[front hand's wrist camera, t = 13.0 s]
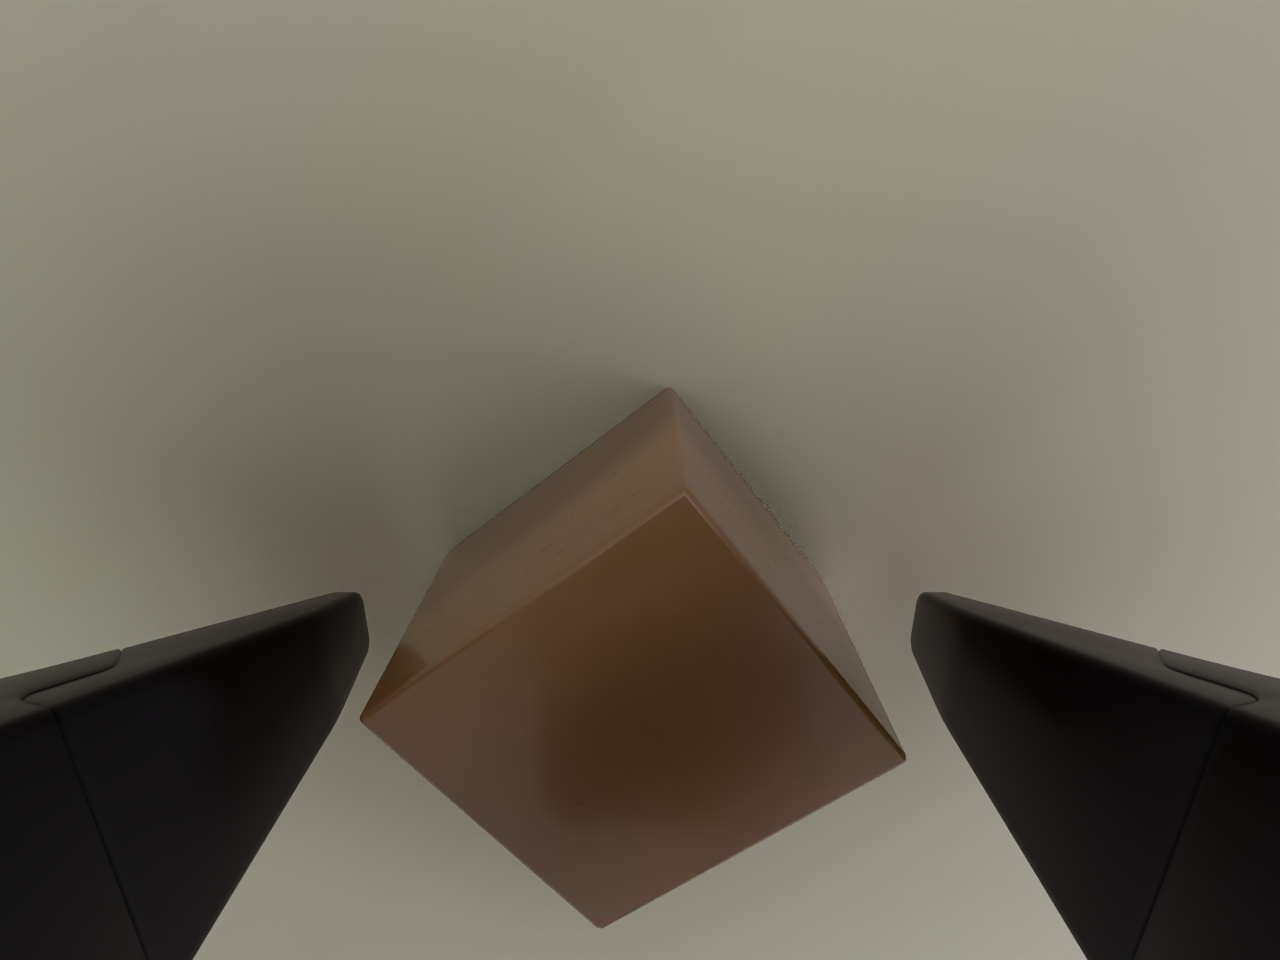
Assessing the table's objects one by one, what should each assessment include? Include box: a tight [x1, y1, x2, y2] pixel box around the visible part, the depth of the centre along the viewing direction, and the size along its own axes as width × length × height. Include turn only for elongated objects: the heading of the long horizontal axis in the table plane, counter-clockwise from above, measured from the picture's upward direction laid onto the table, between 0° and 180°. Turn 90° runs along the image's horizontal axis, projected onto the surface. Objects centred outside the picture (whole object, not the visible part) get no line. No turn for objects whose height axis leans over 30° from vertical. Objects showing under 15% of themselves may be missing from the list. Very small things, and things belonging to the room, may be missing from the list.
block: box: [360, 388, 906, 928], centre depth 11 cm, size 5×5×4 cm
